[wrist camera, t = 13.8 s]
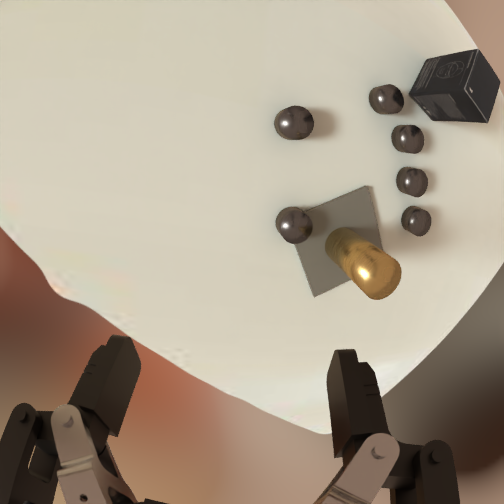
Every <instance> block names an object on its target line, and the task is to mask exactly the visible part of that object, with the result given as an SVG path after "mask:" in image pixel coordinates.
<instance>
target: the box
mask: <svg viewBox="0 0 504 504" xmlns="http://www.w3.org/2000/svg"><path fill="white" fill-rule="evenodd" d="M499 85H500V80H499V79H498V77H497V75H496V74H495V72H494V71H493V69H492V67H491V66H490V64H489V63H488V62H487V60H486V59H485V57H484V56H483V54H482V53H481V52H480V50H479V49H474V50H468V51H463V52H458V53H453V54H448V55H444V56H439V57H435V58H430V59H427V60H426V61H425V63H424V65H423V67H422V69H421V71H420V73H419V75H418V77H417V79H416V81H415V83H414V85H413V87H412V89H411V91H410V93H409V96H410V97H411V98H412V99H413V100H414V101H415V102H416V103H417V104H418V105H419V106H420V107H421V109H422V110H423V111H424V112H425V113H426V114H427V115H428V116H429V117H430V119H431V120H433V121H461V122H479V123H488V121H489V118H490V115H491V112H492V109H493V106H494V103H495V99H496V96H497V93H498V89H499Z"/></svg>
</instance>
